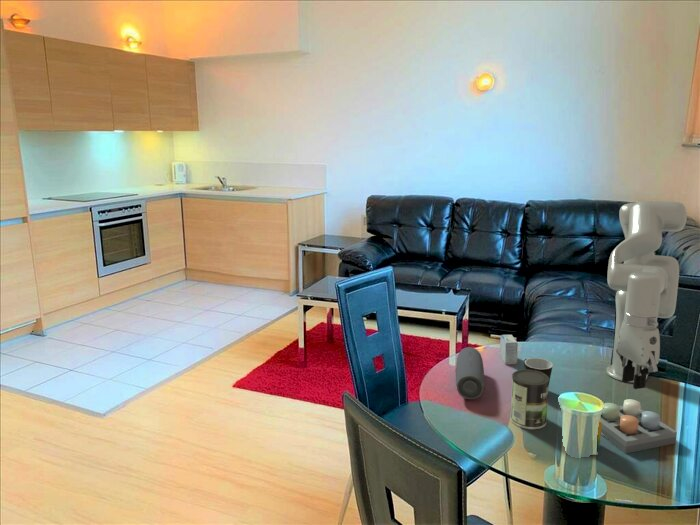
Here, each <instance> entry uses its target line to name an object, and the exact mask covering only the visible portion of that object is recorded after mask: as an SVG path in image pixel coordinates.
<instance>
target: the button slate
mask: <svg viewBox="0 0 700 525" xmlns="http://www.w3.org/2000/svg"><path fill="white" fill-rule="evenodd" d="M660 421H661V415H660V414H659V413H657V412H654V411H651V410H644V412H642V419H641V425H642V426H643V427H644V428H647V429H650V430H657V429H659V425H660Z"/></svg>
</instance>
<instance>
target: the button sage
mask: <svg viewBox="0 0 700 525" xmlns="http://www.w3.org/2000/svg"><path fill="white" fill-rule="evenodd" d="M603 405H604V409H603V408H602V409H603V412H602V417H603V418H605V419H607V420H610V421H617V420H619V414H620V407H619V406H620V405H618V404H616V403H613V402H605V403H603V404H602V406H603Z"/></svg>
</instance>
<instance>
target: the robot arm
mask: <svg viewBox="0 0 700 525" xmlns="http://www.w3.org/2000/svg"><path fill="white" fill-rule="evenodd" d="M618 216H619V223H620V226H621V229H622V232H623V235H624V240H622V241H621V242H620V243H619V244H618V245H616V247H615V248H614V249H613V250H612V251H611V253H610V256H609V259H608V264H607V265H608V266H607V278H606V280H607V285H608V287H609V288H610V289H612V290H613V291H616V292H615V312H616V313H615V314H616V315H615V318H616V319H615V330H614V333H615V334H614V340H613V341H614V342H613V352H612V362H611V364H610V365H609V366H606V374H607V375H608V376H610V377H611V378H613V379H614V380H615V379H616V380H618V381H620V382H623V383H633V384H632V385H633V386H632V387H633V389H634V390H638V389H644V388H645V387H646V381H647V380H648V377H649V376H648V375H649V374H650V373H656V372H658V370H659V369H658V366H657V365H658V364H659V362H660V356H661V355H660V353H661V352H660V351H661V338H660V331H659V328H658V327H659V322H658V318H660V319H670V318H672V317H673V316H674V314H675V311H676V307H677V300H678V299H677V298H678V297H677V296H678V288H679V279H680V265H679V262H678V260H677V259H676V258H675V257H673V256H669V255H658V254H655V251H658V250H659V249H660V247H661V246H662V244H663V232H672V233H673V232H681V231H682V230H683V229H684V228H685V227H686V223H687V218H688V213H687V208H686V206H685V204H684V203H682V202H680V201H671V200H670V201H669V200H668V201H664V200H662V201H661V200H642V201H638V202H630V203H629V202H628V203H625V204H622V206H620V208H619V214H618Z"/></svg>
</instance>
